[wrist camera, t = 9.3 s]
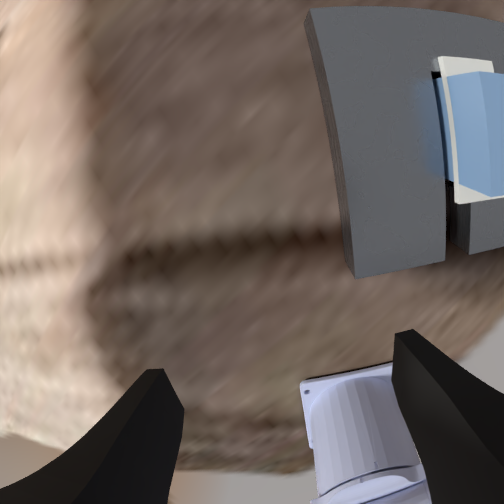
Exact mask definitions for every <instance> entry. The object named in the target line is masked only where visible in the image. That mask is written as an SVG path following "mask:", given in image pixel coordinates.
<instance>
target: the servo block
mask: <svg viewBox="0 0 504 504" xmlns="http://www.w3.org/2000/svg"><path fill="white" fill-rule="evenodd" d="M438 62H439V66H440V71H441V76H442V77H441V78H436V79H432V81H433V86H434V91H435V97H436V103H437V110H438V116H439V124H440V132H441V140H442V150H443V162H444V176H445V179H447V180H450V181H452V182H454V198H455V202H456V203H458V204H464V203H471V202H477V201H484V200H490V199H497V198H503V197H504V74H499V73H494V69H493V64H492V61H488V60H480V59H471V58H461V57H449V56H441V57H438Z"/></svg>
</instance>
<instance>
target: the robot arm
mask: <svg viewBox="0 0 504 504" xmlns="http://www.w3.org/2000/svg"><path fill="white" fill-rule="evenodd" d="M305 390H308V391H305ZM300 391H301V397H302V403H303V409H304V415H305V421H306V428H307V434H308V440H309V447H310V448H312V449H313V450H314V460H315V470H316V479H317V489H318V498H317V499H313V500H311V501H310V504H504V394H503V393H501V392H499V391H497V390H495V389H494V388H492V387H491V386H489V385H487V384H486V383H484V382H483V381H481V380H480V379H478V378H476V377H475V376H474V375H472V374H471V373H469V372H468V371H467V370H465V369H464V368H462V367H461V366H460V365H458V364H457V363H456V362H454V361H453V360H452V359H450V358H449V357H448V356H447V355H445V354H444V353H443V352H441V351H440V350H439V349H438V348H436V347H435V346H434V345H433V344H431V343H430V342H429V341H428V340H426V339H425V338H424V337H423V336H421V335H420V334H419V333H418V332H416V331H415V330H414V329H411V330H407V331H403V332H399V333H395V340H394V354H393V362H392V363H388V364H384V365H379V366H375V367H371V368H366V369H362V370H357V371H352V372H348V373H343V374H337V375H332V376H327V377H321V378H315V379H309V380H304V381H302V382H301V383H300ZM183 420H184V408H183V406H182V404H181V402H180V400H179V398H178V397H177V395H176V393H175V391H174V389H173V387H172V385H171V383H170V381H169V379H168V377H167V375H166V373H165V371H164V369H147V370H146V371H145V372H144V373H143V374H142V375H141V376H140V377H139V378H138V379H137V380H136V381H135V382H134V384H133V385H132V386H131V387H130V388H129V389H128V390H127V391H126V392H125V394H124V395H123V396H122V397H121V398H120V399H119V400H118V401H117V402H116V403H115V405H114V406H113V407H112V408H111V409H110V410H109V411H108V412H107V413H106V414H105V415H104V416H103V417H102V418H101V419H100V420H99V421H98V422H97V423H96V424H95V425H94V426H93V427H92V428H91V429H90V430H89V431H88V432H87V433H86V434H85V435H84V436H83V437H82V438H81V439H80V440H79V441H77V442H76V443H75V444H74V445H73V446H71V447H70V448H69V449H68V450H67V451H65V452H64V453H63V454H62V455H60V456H59V457H57V458H56V459H55V460H53V461H51V462H50V463H48V464H47V465H45V466H44V467H42V468H41V469H40V470H38V471H36V472H35V473H33V474H31V475H29V476H27V477H25V478H23V479H21V480H19V481H17V482H15V483H13V484H11V485H9V486H6V487H3V488H1V489H0V504H167V502H168V496H169V490H170V486H171V481H172V477H173V473H174V468H175V464H176V460H177V456H178V451H179V447H180V443H181V438H182V430H183ZM412 439H413V440H412ZM413 442H414V443H413ZM414 444H415V445H414ZM415 447H416V448H415ZM416 449H417V451H416ZM417 452H418V454H419V457H420V459H421V462H422V463H420V460H419V457H418V454H417Z"/></svg>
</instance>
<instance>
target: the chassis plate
mask: <svg viewBox="0 0 504 504" xmlns="http://www.w3.org/2000/svg"><path fill="white" fill-rule="evenodd" d="M304 27H305V30H306V34H307V38H308V42H309V46H310V50H311V54H312V59H313V63H314V67H315V72H316V76H317V81H318V85H319V90H320V95H321V100H322V105H323V110H324V115H325V120H326V125H327V131H328V137H329V142H330V148H331V154H332V160H333V167H334V173H335V180H336V187H337V194H338V202H339V209H340V217H341V226H342V235H343V244H344V254H345V261H346V263H347V265H348V267H349V269H350V270H351V272H352V274H353V276H354V278H355V279H359V278H364V277H370V276H375V275H380V274H384V273H389V272H394V271H399V270H404V269H409V268H413V267H418V266H423V265H427V264H432V263H436V262H441V261H445V248H446V197H445V176H444V162H443V150H442V140H441V132H440V124H439V116H438V110H437V103H436V97H435V91H434V86H433V81H432V76H436V77H442V76H441V71H440V66H439V62H438V57H441V56H449V57H461V58H471V59H480V60H488V61H492V64H493V69H494V73H499V74H504V23H502V22H498V21H494V20H489V19H485V18H480V17H475V16H470V15H464V14H458V13H452V12H445V11H437V10H428V9H418V8H405V7H385V6H346V7H325V8H311V9H309V11H308V14H307V17H306V19H305V22H304ZM449 194H450V241H451V242H453V243H454V244H455V245H457V246H458V247H459V248H461V249H462V250H463V251H465V252H466V253H467V254H468V255H471V254H475V253H479V252H483V251H487V250H491V249H495V248H499V247H503V246H504V197H503V198H497V199H490V200H484V201H477V202H471V203H464V204H458V203H456V202H455V198H454V186H449Z"/></svg>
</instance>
